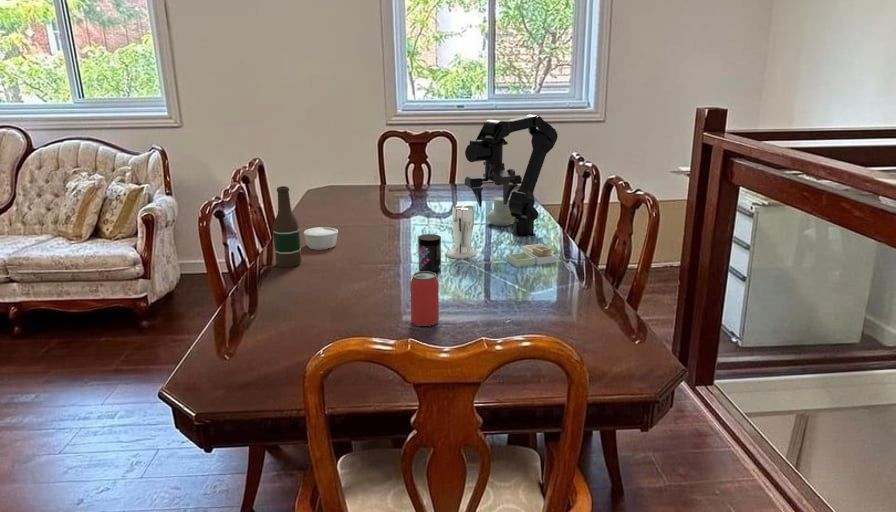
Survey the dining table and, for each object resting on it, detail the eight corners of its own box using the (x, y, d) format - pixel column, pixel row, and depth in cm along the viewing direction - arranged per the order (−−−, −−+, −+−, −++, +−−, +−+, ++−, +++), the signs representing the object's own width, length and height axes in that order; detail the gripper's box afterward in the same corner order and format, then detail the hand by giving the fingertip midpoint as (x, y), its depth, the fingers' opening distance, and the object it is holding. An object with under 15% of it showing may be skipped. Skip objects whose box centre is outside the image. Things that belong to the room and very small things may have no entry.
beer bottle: (307, 261, 190) (301, 185, 183) (293, 269, 183) (286, 190, 176) (285, 259, 193) (279, 183, 185) (270, 266, 186) (263, 188, 178)
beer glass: (466, 256, 193) (467, 210, 188) (448, 253, 196) (448, 207, 192) (477, 250, 199) (478, 205, 194) (458, 247, 202) (459, 203, 198)
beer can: (410, 317, 149) (409, 270, 145) (437, 316, 149) (437, 269, 146) (411, 328, 142) (410, 280, 139) (439, 327, 143) (439, 279, 139)
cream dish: (539, 251, 200) (539, 243, 200) (549, 256, 195) (550, 249, 194) (522, 253, 198) (522, 245, 197) (531, 258, 193) (532, 251, 192)
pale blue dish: (545, 257, 194) (545, 250, 193) (555, 263, 188) (556, 256, 187) (527, 260, 191) (527, 252, 191) (537, 266, 186) (537, 258, 185)
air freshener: (499, 229, 227) (499, 202, 224) (483, 224, 233) (483, 199, 230) (519, 224, 234) (519, 198, 231) (503, 220, 240) (504, 195, 237)
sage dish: (524, 259, 192) (525, 252, 191) (534, 265, 186) (535, 258, 185) (506, 262, 189) (506, 254, 189) (516, 268, 184) (516, 260, 183)
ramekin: (345, 243, 209) (344, 228, 208) (325, 252, 200) (324, 237, 198) (318, 239, 214) (317, 225, 212) (298, 248, 204) (296, 233, 202)
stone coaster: (469, 248, 203) (469, 246, 203) (481, 256, 195) (481, 255, 194) (441, 251, 200) (441, 250, 200) (452, 260, 191) (452, 258, 191)
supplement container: (419, 266, 185) (419, 233, 182) (442, 267, 185) (442, 234, 182) (417, 274, 179) (416, 240, 176) (440, 274, 178) (440, 240, 175)
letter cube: (542, 257, 192) (542, 245, 191) (550, 261, 189) (551, 248, 188) (532, 259, 190) (532, 247, 189) (540, 263, 187) (541, 250, 186)
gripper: (478, 164, 191) (477, 213, 196) (530, 161, 197) (528, 208, 202) (464, 159, 201) (463, 205, 206) (514, 156, 207) (513, 201, 212)
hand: (492, 205), depth 206 cm, fingers open, 9 cm apart
